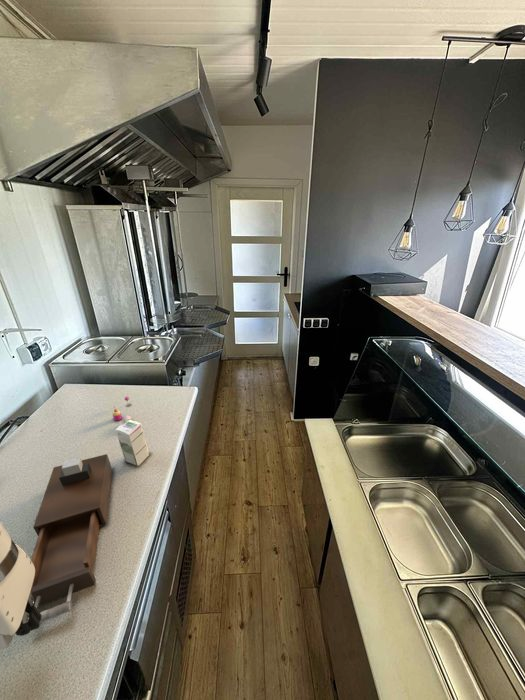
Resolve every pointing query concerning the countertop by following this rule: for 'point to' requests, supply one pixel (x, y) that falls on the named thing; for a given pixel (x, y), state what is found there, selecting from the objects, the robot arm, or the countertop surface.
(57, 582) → the drawer
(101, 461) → the cabinet
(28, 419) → the countertop surface
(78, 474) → the two-tone rectangular prism
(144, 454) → the syrup box
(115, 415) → the candy
